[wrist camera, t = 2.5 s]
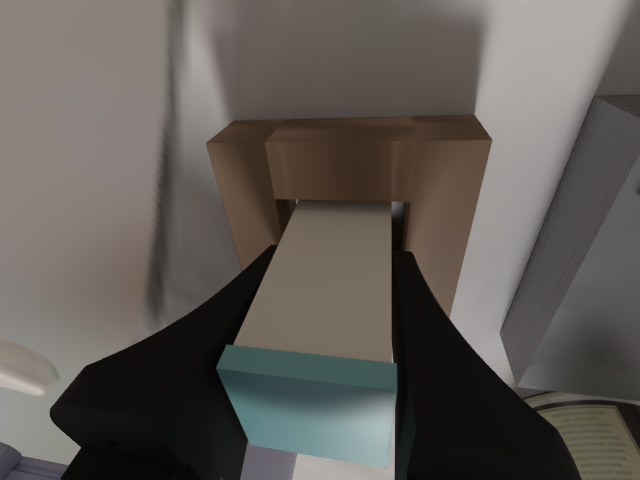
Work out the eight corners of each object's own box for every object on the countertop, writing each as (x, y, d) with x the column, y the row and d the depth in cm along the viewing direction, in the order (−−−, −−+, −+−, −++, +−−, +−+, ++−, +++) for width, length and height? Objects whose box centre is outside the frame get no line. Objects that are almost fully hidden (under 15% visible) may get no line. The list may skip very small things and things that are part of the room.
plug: (311, 249, 16) (250, 445, 9) (304, 180, 14) (216, 368, 7) (389, 253, 16) (387, 468, 9) (393, 181, 13) (397, 391, 6)
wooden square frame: (270, 284, 18) (255, 319, 16) (233, 120, 13) (205, 143, 11) (438, 296, 17) (444, 336, 15) (474, 115, 11) (492, 139, 9)
